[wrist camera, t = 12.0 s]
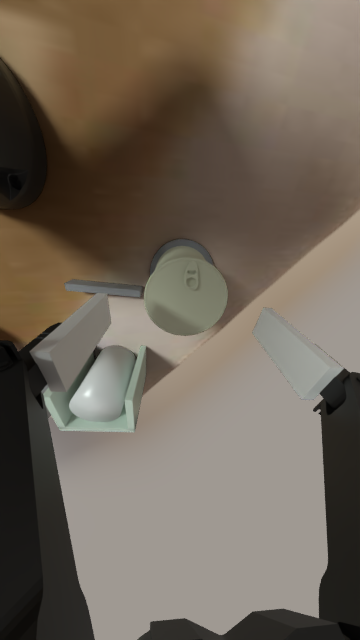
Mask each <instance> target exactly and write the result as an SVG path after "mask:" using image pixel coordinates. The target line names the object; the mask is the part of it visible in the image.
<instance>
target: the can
mask: <svg viewBox="0 0 360 640" xmlns="http://www.w3.org/2000/svg"><path fill="white" fill-rule="evenodd" d="M227 300H228V290H227V285H226V282H225V280H224V278H223V276H222V275H221V273H220V272H219V271H218V270H217V269H216V268H215V267H214V266H213V265H212V264H210V263H208V262H207V261H206V260H205V258H204V257H203V255H202V254H201V253H200V252H198V251H197V250H195V249H194V248H191V247H187V246H177V247H174V248H171V249H169V250H167V251H166V252H165V253H164V254H163V255H162V256H161V257H160V259H159V260H158V262H157V265H156V269H155V271H154V272H153V273H152V275H151V276H150V278H149V279H148V281H147V284H146V287H145V291H144V304H145V308H146V311H147V313H148V315H149V317H150V319H151V320H152V321H153V322H154V323H155V324H156V325H157V326H158V327H159V328H161V329H162V330H164V331H166V332H168V333H171V334H175V335H181V336H188V335H195V334H198V333H201V332H204V331H205V330H207V329H209V328H210V327H212V326H213V325H214V324H215V323H216V322H217V321H218V320H219V319H220V318H221V316H222V315H223V313H224V311H225V308H226V305H227Z"/></svg>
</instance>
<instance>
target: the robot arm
mask: <svg viewBox="0 0 360 640" xmlns="http://www.w3.org/2000/svg"><path fill="white" fill-rule="evenodd" d="M46 170H47V162H46V151H45V146H44V141H43V137H42V133H41V130H40V127H39V124H38V121H37V119H36V116H35V114H34V111H33V109H32V107H31V105H30V103H29V101H28V99H27V97H26V95H25V94H24V92H23V90H22V88H21V87H20V85H19V83H18V82H17V80H16V79H15V77H14V76H13V74H12V73H11V72H10V70H9V69H8V67H7V66H6V65H5V64H4V62H3V61H2V60H1V59H0V208H1V209H20V208H23V207H26V206H28V205H30V204H31V203H32V202H34V201H35V200H36V199H37V197H38V196H39V195H40V193H41V191H42V189H43V186H44V183H45V178H46ZM110 324H111V317H110V310H109V303H108V296H107V294H105V293H96V294H95V295H94V296H93V297H92V298H91V299H89V300H88V301H87V302H86V303H85V304H84V305H83V306H81V307H80V308H79V309H78V310H77V311H76V312H74V313H73V314H72V315H71V316H70V317H69V318H68V319H66V320H65V321H64V322H63V323H57V324H55V325H52V326H50V327H49V328H47V329H46V330H45V331H44V332H42V334H40V335H39V336H37V338H35V339H34V340H32V341H31V342H30V343H29V344H28V345H26V346H25V347H24V348H23V349H21V350H20V351H19V352H18V351H17V349H16V347H15V346H14V344H13V342H10V341H0V640H95V639H94V634H93V629H92V624H91V619H90V615H89V610H88V606H87V603H86V600H85V597H84V595H83V592H82V590H81V588H80V584H79V581H78V576H77V571H76V566H75V560H74V555H73V550H72V545H71V539H70V534H69V529H68V523H67V518H66V512H65V507H64V502H63V496H62V491H61V486H60V480H59V475H58V470H57V464H56V459H55V454H54V448H53V443H52V438H51V432H50V427H49V422H48V416H47V411H46V406H45V400H44V395H43V393H42V392H41V391H42V390H43V389H44V387H45V386H46V385H48V387H49V389H50V391H51V392H67V391H68V389H69V388H70V386H71V385H72V383H73V382H74V380H75V378H76V377H77V375H78V374H79V372H80V371H81V369H82V368H83V366H84V365H85V363H86V361H87V360H88V358H89V357H90V355H91V354H92V352H93V351H94V349H95V348H96V346H97V344H98V343H99V341H100V340H101V338H102V337H103V335H104V334H105V332H106V331H107V329H108V327H109V326H110ZM252 333H253V335H254V336H255V337H256V339H257V340H258V342H259V343H260V344H261V346H262V347H263V348H264V350H265V351H266V352H267V354H268V355H269V356H270V358H271V359H272V361H273V362H274V363H275V364H276V366H277V367H278V369H279V370H280V371H281V373H282V374H283V375H284V377H285V378H286V379H287V381H288V382H289V383H290V385H291V386H292V388H293V389H294V390H295V391H296V393H297V394H298V396H299V397H300V398H301V399H302V400H314V399H315V398H316V397H317V396H318V395H319V394H320V395H321V396H322V397H323V398H324V399H323V400H322V401H321V402H320V403H319V404H318V405H317V406H316V407H315V408H314V409H313V411H314V412H316V411H317V410H318V409H320V410H321V412H320V413H319V414H320V415H321V424H322V444H323V464H324V483H325V504H326V523H327V543H328V566H327V570H326V572H325V574H324V575H323V577H322V579H321V583H320V587H319V618H315V617H312V616H308V615H304V614H301V613H297V612H293V611H290V610H286V609H276V610H265V611H255V612H252V613H250V614H249V615H248V616H247V617H245V618H244V619H243V620H242V621H240V622H239V623H238V624H237V625H236V626H234V627H233V628H232V629H231V630H229V631H228V632H227V633H226V634H224V635H218V634H216V633H214V632H212V631H210V630H208V629H206V628H204V627H201V626H200V625H198V624H195V623H193V622H191V621H189V620H187V619H185V618H184V619H173V620H163V621H153V622H151V623H150V630H149V631H148V632H147V633H145V634H144V635H142V636H141V637H140V638H139V639H138V640H360V373H356V372H351V373H350V372H348V371H347V370H346V369H345V368H343V367H342V366H341V365H340V364H339V363H338V362H336V361H335V360H334V359H333V358H332V357H330V356H329V355H328V354H326V353H325V352H324V351H323V350H322V349H320V348H319V347H318V346H317V345H316V344H314V343H313V342H312V341H310V340H309V339H308V338H307V337H306V336H304V335H303V334H302V333H301V332H300V331H298V330H297V329H296V328H294V326H292V325H291V324H290V323H289V322H288V321H286V320H285V319H284V318H283V317H282V316H280V315H279V314H278V313H277V312H276V311H274V310H273V309H272V308H263V310H262V312H261V314H260V317H259V319H258V321H257V324H256V326H255V328H254V330H253V332H252Z"/></svg>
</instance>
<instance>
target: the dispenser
mask: <svg viewBox="0 0 360 640" xmlns="http://www.w3.org/2000/svg"><path fill="white" fill-rule="evenodd" d="M64 284H65V288H66V290H67V291H78V292H89V293H105V294H110V295H121V296H132V297H141V295H142V293H143V286H136V285H125V284H115V283H105V282H95V281H85V280H75V279H72V280H70V281H68V282H66V283H64ZM145 379H146V346H141V347H140V350H139V353H138V357H137V360H136V357H135V355H134V354H133V353H132V352H131V351H130V350H129V349H127V348H125V347H122V346H108V347H106V348H104V349H103V350H102V351H101V352H100V354H99V355H98V357H97V359H96V360H95V358H94V354H93V352H92V354H91V355H90V357H89V358H88V360H87V361H86V363H85V365H84V366H83V368H82V369H81V371H80V372H79V374H78V375H77V377H76V378H75V380H74V382H73V383H72V385H71V386H70V388H69V389H68V391H67V392H51V391H50V389H49V387H48V389H47V390H46V391H45V392H44V394H43V395H44V400H45V405H46V407H47V408H48V410H49V412H50V414H51V415H52V417H53V419H54V421H55V422H56V424H57V426H58V428H59V429H60V430H64V431H105V432H135V429H136V424H137V419H138V414H139V409H140V404H141V399H142V394H143V389H144V384H145Z"/></svg>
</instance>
